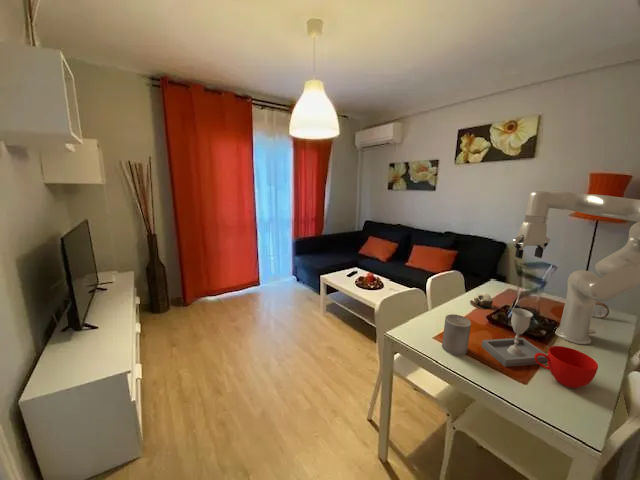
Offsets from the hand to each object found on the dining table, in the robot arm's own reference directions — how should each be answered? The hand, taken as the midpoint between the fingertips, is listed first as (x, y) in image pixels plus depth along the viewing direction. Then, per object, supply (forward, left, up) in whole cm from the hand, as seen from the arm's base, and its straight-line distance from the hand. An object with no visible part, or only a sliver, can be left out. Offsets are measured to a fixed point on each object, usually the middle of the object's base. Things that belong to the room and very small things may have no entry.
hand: (528, 257), depth 122 cm
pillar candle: (+38, +11, -37) cm, 54 cm away
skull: (-3, -26, -37) cm, 45 cm away
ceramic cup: (+11, +32, -36) cm, 50 cm away
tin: (-51, -9, -37) cm, 63 cm away
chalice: (+15, +17, -36) cm, 42 cm away
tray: (+16, +17, -36) cm, 43 cm away
